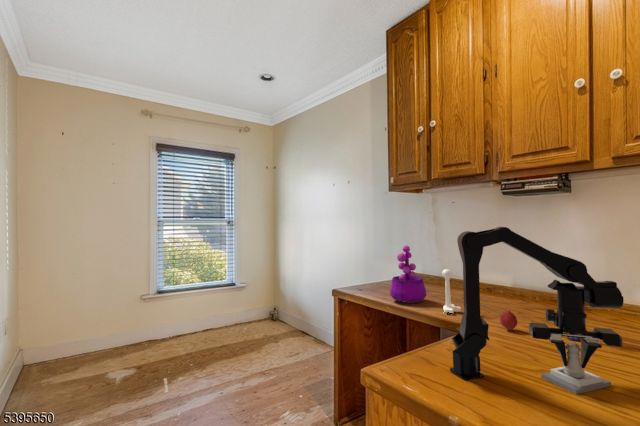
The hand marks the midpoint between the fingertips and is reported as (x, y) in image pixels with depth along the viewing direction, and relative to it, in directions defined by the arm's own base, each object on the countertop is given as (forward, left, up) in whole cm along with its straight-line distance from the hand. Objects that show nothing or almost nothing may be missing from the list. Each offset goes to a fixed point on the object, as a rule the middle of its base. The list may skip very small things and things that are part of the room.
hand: (573, 366), depth 85 cm
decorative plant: (+6, +91, -4) cm, 91 cm away
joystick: (+14, +66, -4) cm, 68 cm away
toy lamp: (+30, +22, -4) cm, 37 cm away
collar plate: (0, 0, -4) cm, 4 cm away
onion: (+17, +37, -4) cm, 41 cm away
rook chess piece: (0, 0, -2) cm, 2 cm away
